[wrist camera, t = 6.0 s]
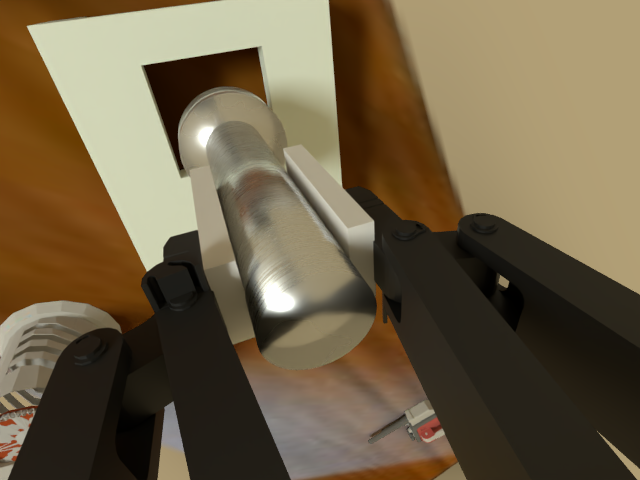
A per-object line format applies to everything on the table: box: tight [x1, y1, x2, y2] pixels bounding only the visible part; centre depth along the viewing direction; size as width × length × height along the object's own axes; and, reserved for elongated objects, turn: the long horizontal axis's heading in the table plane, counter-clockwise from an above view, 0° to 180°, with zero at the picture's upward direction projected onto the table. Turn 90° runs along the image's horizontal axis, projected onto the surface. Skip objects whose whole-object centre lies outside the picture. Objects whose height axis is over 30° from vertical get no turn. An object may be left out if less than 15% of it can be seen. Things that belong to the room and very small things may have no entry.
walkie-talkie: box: [368, 400, 445, 444], centre depth 65 cm, size 9×4×20 cm
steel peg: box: [178, 87, 377, 370], centre depth 15 cm, size 6×6×15 cm
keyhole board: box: [27, 0, 342, 271], centre depth 28 cm, size 20×16×5 cm
